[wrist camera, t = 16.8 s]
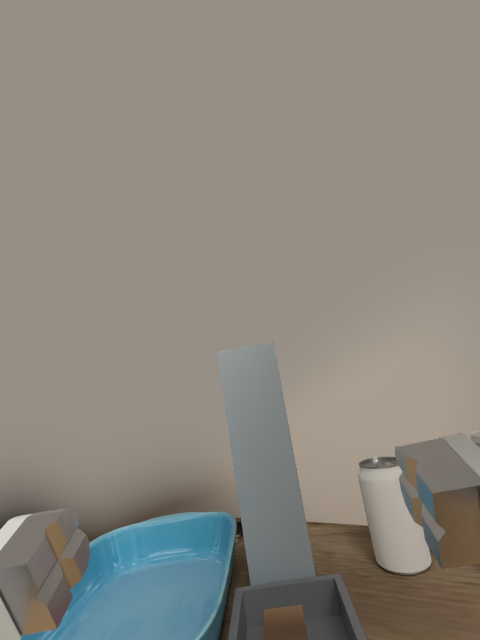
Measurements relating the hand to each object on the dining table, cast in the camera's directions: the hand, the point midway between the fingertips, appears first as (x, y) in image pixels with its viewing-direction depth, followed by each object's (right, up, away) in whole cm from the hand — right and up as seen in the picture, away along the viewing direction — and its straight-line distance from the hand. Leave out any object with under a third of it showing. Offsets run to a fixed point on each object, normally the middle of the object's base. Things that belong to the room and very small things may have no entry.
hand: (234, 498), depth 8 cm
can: (+21, -26, +34) cm, 48 cm away
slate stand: (+6, -28, +35) cm, 45 cm away
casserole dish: (-11, -30, +28) cm, 43 cm away
